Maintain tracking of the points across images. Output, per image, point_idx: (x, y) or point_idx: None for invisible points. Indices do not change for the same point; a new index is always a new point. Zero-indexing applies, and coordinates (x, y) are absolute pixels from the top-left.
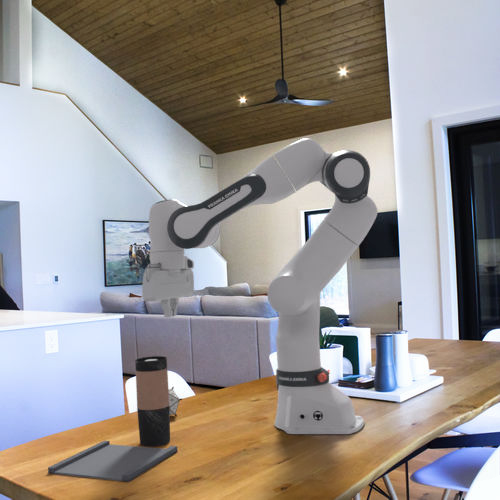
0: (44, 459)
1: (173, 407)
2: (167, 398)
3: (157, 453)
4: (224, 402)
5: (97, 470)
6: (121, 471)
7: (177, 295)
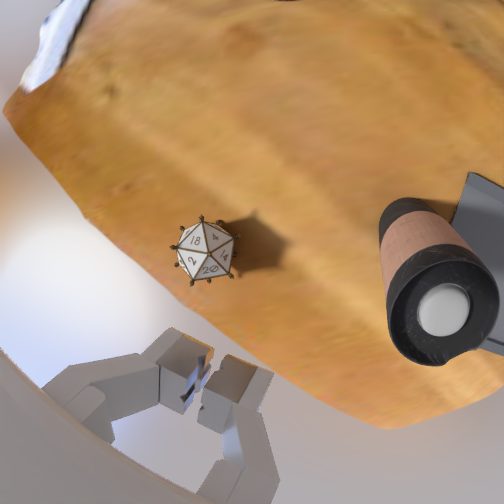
0: (446, 379)
1: (221, 229)
2: (435, 217)
3: (484, 208)
4: (122, 147)
5: None
6: None
7: (65, 442)
